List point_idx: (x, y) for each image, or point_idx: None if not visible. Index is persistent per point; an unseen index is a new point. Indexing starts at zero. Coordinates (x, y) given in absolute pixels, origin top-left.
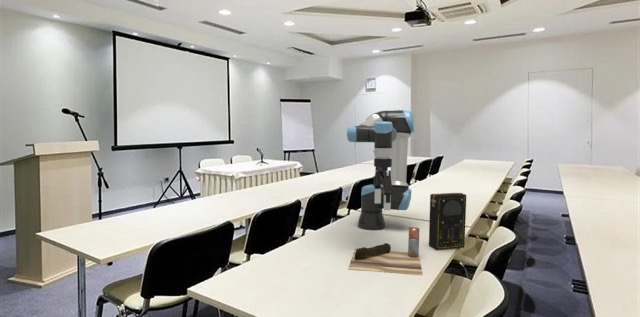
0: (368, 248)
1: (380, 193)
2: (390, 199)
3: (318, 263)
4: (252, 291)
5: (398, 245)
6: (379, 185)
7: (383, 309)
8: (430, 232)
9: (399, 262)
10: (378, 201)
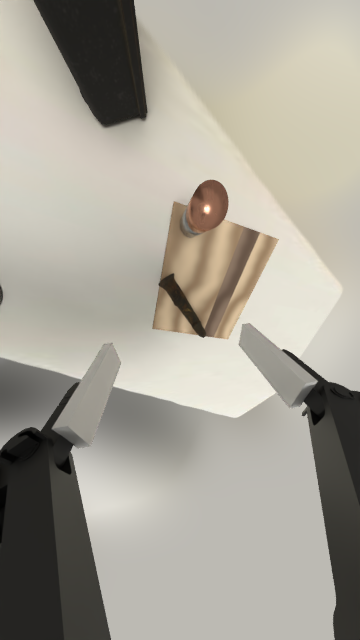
0: (191, 319)
1: (90, 389)
2: (288, 356)
3: (204, 365)
4: (250, 395)
5: (117, 239)
6: (59, 481)
7: (325, 314)
8: (89, 69)
9: (219, 266)
10: (112, 357)
